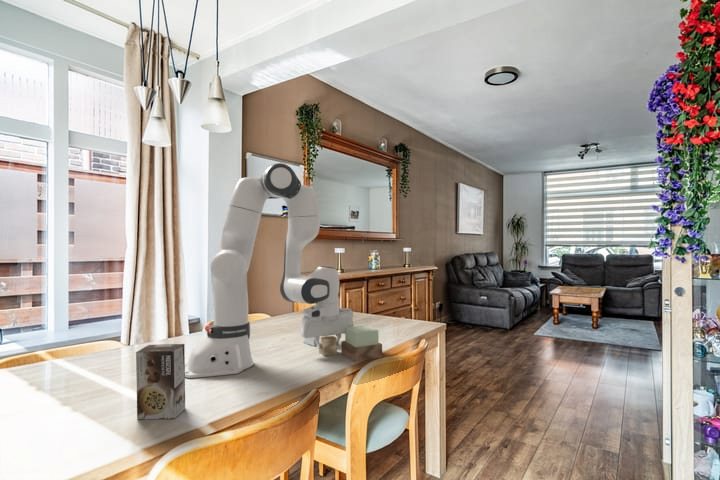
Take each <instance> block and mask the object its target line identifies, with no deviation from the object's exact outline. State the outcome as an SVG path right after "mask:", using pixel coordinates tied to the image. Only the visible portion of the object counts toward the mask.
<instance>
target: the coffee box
mask: <svg viewBox="0 0 720 480" xmlns="http://www.w3.org/2000/svg"><path fill="white" fill-rule="evenodd" d="M185 351H186V350H185V343H170V344H169V343H167V344H161V343H160V344H148V345H146V346H144V347H143V348H140V349H138V351H136V352H135V366H136V367H135V369H136V371H135V372H136V420H137V419H145V420H160V419H159V418H165V419H167V418H168V419H169V420H171V418H173V419H176V418H178V416H179V415H180V414H181V413H183V411H184V410H185V409H186V377H185V364H186V363H185V358H186V357H185ZM165 419H164V420H165Z"/></svg>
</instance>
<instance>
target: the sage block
mask: <svg viewBox="0 0 720 480" xmlns="http://www.w3.org/2000/svg"><path fill="white" fill-rule="evenodd" d="M344 336H345V338H344V339H345V340H344V341H345V342H347V343H349V344H351V345H352V346H354V347H362V346H369V345H377V344H379V343H380V342H379V329H377V328H375V327H372V326H369V325H359V326H354V327H349V328H345V333H344Z"/></svg>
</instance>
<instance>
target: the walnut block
mask: <svg viewBox="0 0 720 480" xmlns="http://www.w3.org/2000/svg"><path fill="white" fill-rule="evenodd" d="M378 343H379V344H377V345H369V346H362V347H354V346H352V345H351V344H349V343H347V342H345V340H342V341H341V342H340V344H341V345H340V346H341V355H343V356H345V357H346V358H348V359H350V360H351V361H352V362H355V363H356V362H361V361H366V360H367V361H368V360H375V359H379V358H380V359H381V358H383V343H381V342H378Z"/></svg>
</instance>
